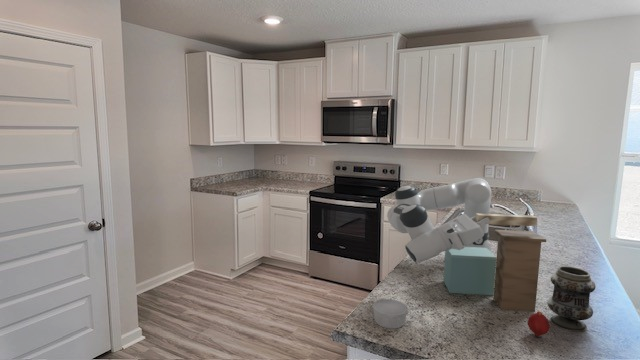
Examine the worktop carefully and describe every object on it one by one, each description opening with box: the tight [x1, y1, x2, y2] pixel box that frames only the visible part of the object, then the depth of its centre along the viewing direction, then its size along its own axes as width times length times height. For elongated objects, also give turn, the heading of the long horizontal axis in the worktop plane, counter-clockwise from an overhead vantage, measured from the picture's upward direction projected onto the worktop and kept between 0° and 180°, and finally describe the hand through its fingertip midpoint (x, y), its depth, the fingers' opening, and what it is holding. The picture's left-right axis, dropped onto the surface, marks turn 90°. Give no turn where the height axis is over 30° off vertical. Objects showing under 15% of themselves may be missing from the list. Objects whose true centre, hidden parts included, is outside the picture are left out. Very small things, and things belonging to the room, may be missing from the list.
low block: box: [443, 247, 497, 296], centre depth 142 cm, size 11×16×15 cm
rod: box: [475, 213, 538, 227], centre depth 126 cm, size 19×3×3 cm, turn 83°
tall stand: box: [493, 229, 547, 313], centre depth 128 cm, size 10×13×26 cm
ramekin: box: [372, 298, 409, 330], centre depth 117 cm, size 11×11×5 cm
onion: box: [527, 310, 551, 337], centre depth 109 cm, size 6×6×8 cm
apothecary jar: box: [546, 265, 597, 333], centre depth 116 cm, size 12×12×18 cm
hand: (486, 217), depth 127 cm, fingers closed on rod, 3 cm apart
